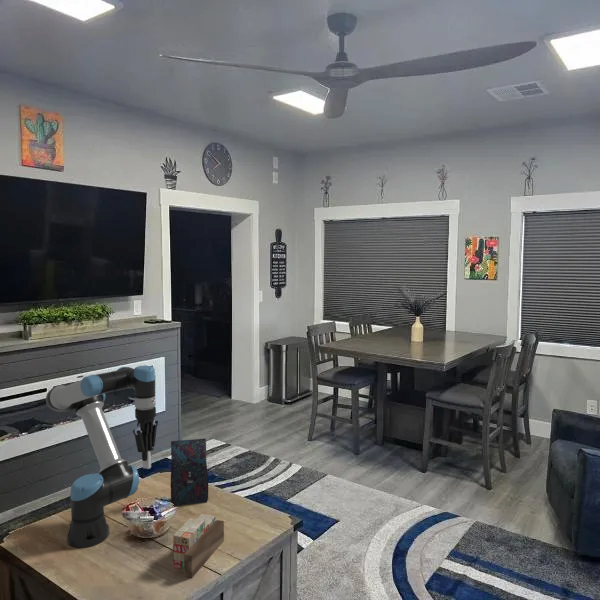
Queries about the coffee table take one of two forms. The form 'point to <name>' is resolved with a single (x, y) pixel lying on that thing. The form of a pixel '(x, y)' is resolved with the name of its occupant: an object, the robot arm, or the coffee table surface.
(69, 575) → the coffee table surface
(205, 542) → the walnut board
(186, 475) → the decorative box
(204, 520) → the stack of blocks
